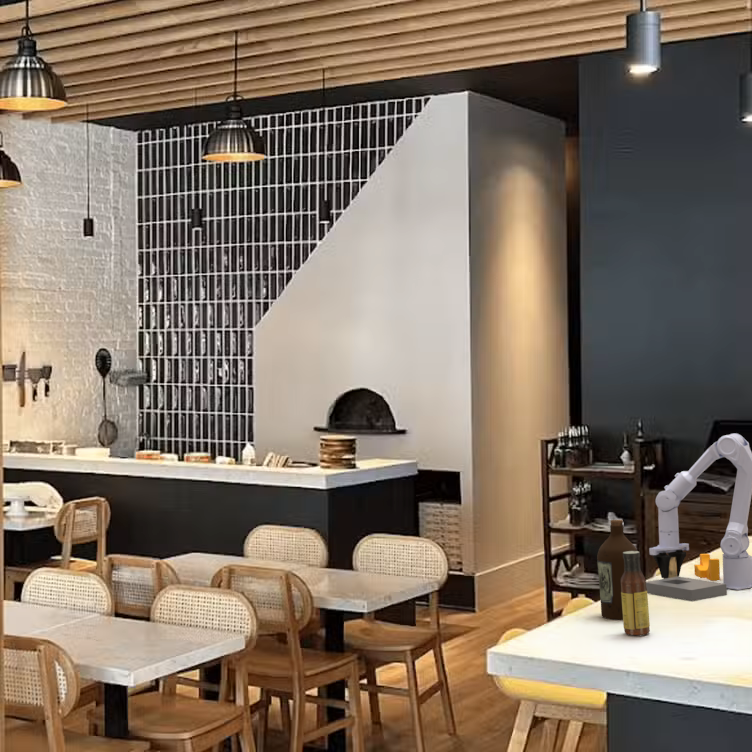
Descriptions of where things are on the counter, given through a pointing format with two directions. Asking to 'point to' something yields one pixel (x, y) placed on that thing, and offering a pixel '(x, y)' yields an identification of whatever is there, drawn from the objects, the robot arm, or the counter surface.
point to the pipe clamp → (708, 568)
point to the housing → (686, 588)
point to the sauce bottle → (634, 596)
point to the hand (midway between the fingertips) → (670, 577)
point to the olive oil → (612, 570)
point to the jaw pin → (672, 567)
